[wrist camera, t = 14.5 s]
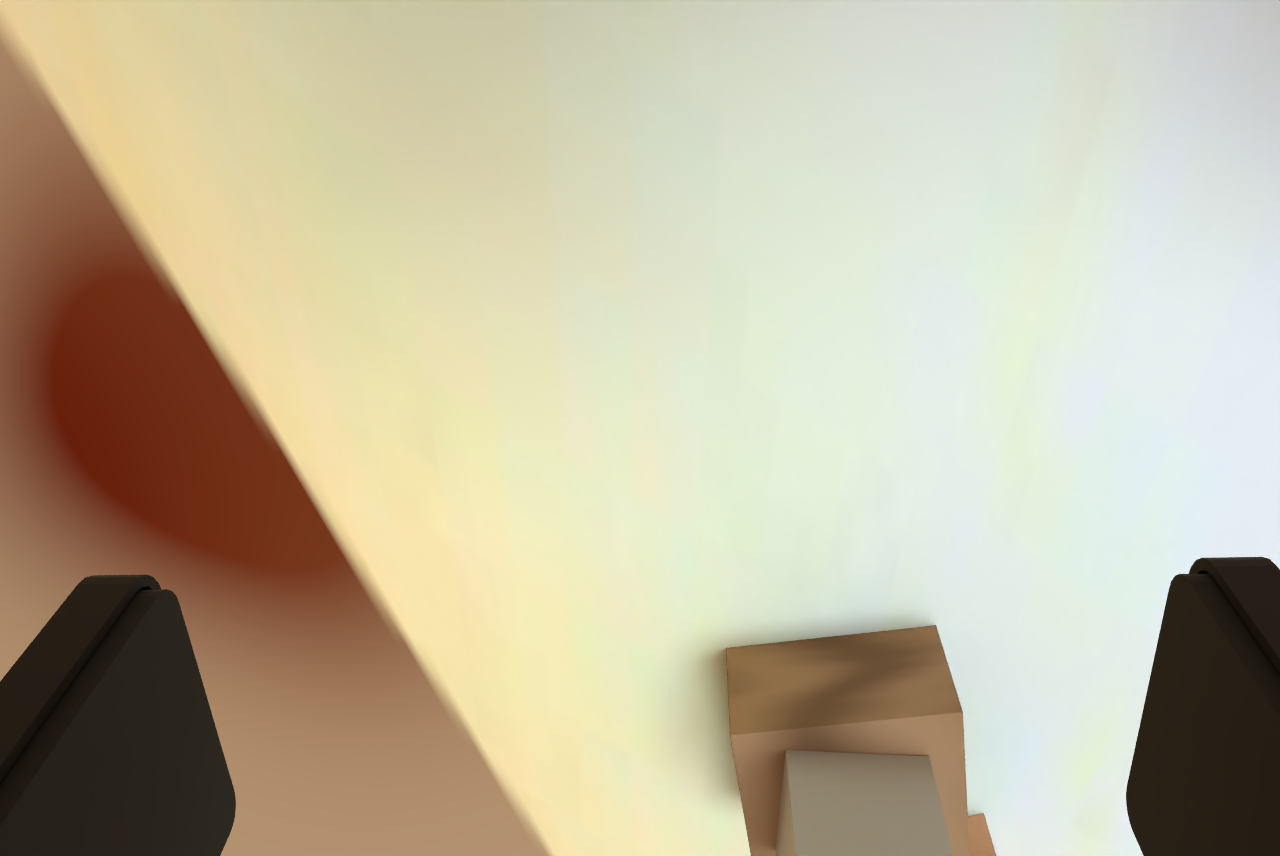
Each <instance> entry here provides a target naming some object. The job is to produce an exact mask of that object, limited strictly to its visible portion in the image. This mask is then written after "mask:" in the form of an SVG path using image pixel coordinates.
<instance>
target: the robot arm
mask: <svg viewBox="0 0 1280 856" xmlns="http://www.w3.org/2000/svg"><path fill="white" fill-rule="evenodd" d="M235 801H236V800H235V792H234V789H233V785H232V781H231V778H230V774H229V771H228V768H227V764H226V761H225V757H224V754H223V751H222V747H221V744H220V741H219V737H218V734H217V730H216V727H215V723H214V720H213V717H212V713H211V710H210V707H209V703H208V700H207V696H206V693H205V689H204V686H203V683H202V679H201V676H200V672H199V669H198V666H197V662H196V659H195V656H194V652H193V649H192V645H191V642H190V638H189V635H188V632H187V628H186V625H185V621H184V619H183V615H182V611H181V608H180V605H179V602H178V599H177V597H176V595H175V594H174V593H173V592H172V591H170V590H161V588H160V585H159V583H158V582H157V581H156V580H155V579H154V577H151V576H148V575H104V576H103V575H102V576H101V575H99V576H90V577H86V578H84V579H83V580H82V581H81V582H80V583H79V584H78V585H77V586H76V587H75V589H74V590H73V591H72V592H71V594H70V595H69V596H68V597H67V599H66V600H65V601H64V602H63V604H62V605H61V606H60V608H59V609H58V610H57V611H56V612H55V614H54V615H53V616H52V617H51V619H50V620H49V621H48V622H47V624H46V625H45V626H44V627H43V629H42V630H41V632H40V633H39V634H38V635H37V636H36V637H35V639H34V640H33V641H32V642H31V644H30V645H29V646H28V647H27V649H26V650H25V651H24V653H23V654H22V655H21V656H20V658H19V659H18V660H17V661H16V663H15V664H14V665H13V666H12V668H11V669H10V670H9V672H8V673H7V674H6V675H5V676H4V678H3V679H2V680H1V681H0V856H220V855H221V852H222V850H223V848H224V846H225V843H226V841H227V839H228V837H229V835H230V832H231V829H232V826H233V822H234V818H235V808H236V802H235ZM1126 803H1127V811H1128V816H1129V821H1130V824H1131V827H1132V830H1133V832H1134V835H1135V837H1136V839H1137V841H1138V844H1139V846H1140V848H1141V851H1142V853H1143V855H1144V856H1280V570H1279V568H1278V567H1277V566H1276V565H1275V564H1274V563H1273V562H1272V561H1271V560H1270V559H1267V558H1264V557H1230V558H1201V559H1198V560H1196V561H1195V562H1194V564H1193V565H1192V567H1191V569H1190V572H1189V574H1179V575H1176V576H1175V577H1174V578H1173V580H1172V581H1171V585H1170V588H1169V592H1168V597H1167V601H1166V606H1165V611H1164V615H1163V620H1162V625H1161V629H1160V634H1159V639H1158V643H1157V648H1156V653H1155V657H1154V662H1153V667H1152V672H1151V676H1150V681H1149V686H1148V690H1147V695H1146V700H1145V704H1144V709H1143V714H1142V718H1141V723H1140V728H1139V732H1138V737H1137V742H1136V747H1135V751H1134V756H1133V761H1132V765H1131V770H1130V775H1129V779H1128V784H1127V792H1126Z"/></svg>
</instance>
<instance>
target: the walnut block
mask: <svg viewBox="0 0 1280 856" xmlns="http://www.w3.org/2000/svg"><path fill="white" fill-rule="evenodd" d="M726 656H727V677H728V699H729V720H730V737H731V743H732V749H733V754H734V760H735V766H736V772H737V777H738V783H739V789H740V795H741V800H742V806H743V812H744V818H745V824H746V829H747V835H748V841H749V847H750V852H751V856H776V851H775V850H776V840H777V831H778V821H779V811H780V802H781V792H782V783H783V773H784V763H785V754H786V750H798V751H820V752H843V753H865V754H887V755H910V756H929V758H930V762H931V766H932V770H933V774H934V779H935V783H936V787H937V791H938V795H939V799H940V803H941V807H942V811H943V815H944V819H945V823H946V827H947V831H948V835H949V839H950V843H951V847H952V851H953V855H954V856H969V835H968V813H967V792H966V771H965V750H964V729H963V711H962V708H961V705H960V702H959V698H958V695H957V692H956V689H955V685H954V682H953V679H952V676H951V673H950V669H949V666H948V663H947V660H946V656H945V653H944V650H943V647H942V643H941V640H940V637H939V634H938V630H937V627H936V625H935V626H926V627H917V628H908V629H898V630H889V631H880V632H871V633H861V634H852V635H843V636H833V637H824V638H815V639H806V640H796V641H787V642H778V643H769V644H759V645H750V646H741V647H732V648H726Z"/></svg>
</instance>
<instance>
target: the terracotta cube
mask: <svg viewBox="0 0 1280 856" xmlns="http://www.w3.org/2000/svg"><path fill="white" fill-rule="evenodd" d="M968 835H969V856H996V853H995V850H994V846H993V843H992V840H991V836H990V833H989V829H988V826H987V823H986V819H985V816H984V813H983V814H978V815H973V816H968Z"/></svg>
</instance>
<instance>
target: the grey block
mask: <svg viewBox="0 0 1280 856" xmlns="http://www.w3.org/2000/svg"><path fill="white" fill-rule="evenodd" d="M775 851H776V856H954V855H953V851H952V847H951V843H950V839H949V835H948V831H947V827H946V823H945V819H944V815H943V811H942V807H941V803H940V799H939V795H938V791H937V787H936V783H935V779H934V774H933V770H932V766H931V762H930V758H929V756H910V755H887V754H865V753H843V752H820V751H798V750H786V754H785V763H784V773H783V783H782V792H781V802H780V811H779V821H778V831H777V840H776V850H775Z"/></svg>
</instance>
